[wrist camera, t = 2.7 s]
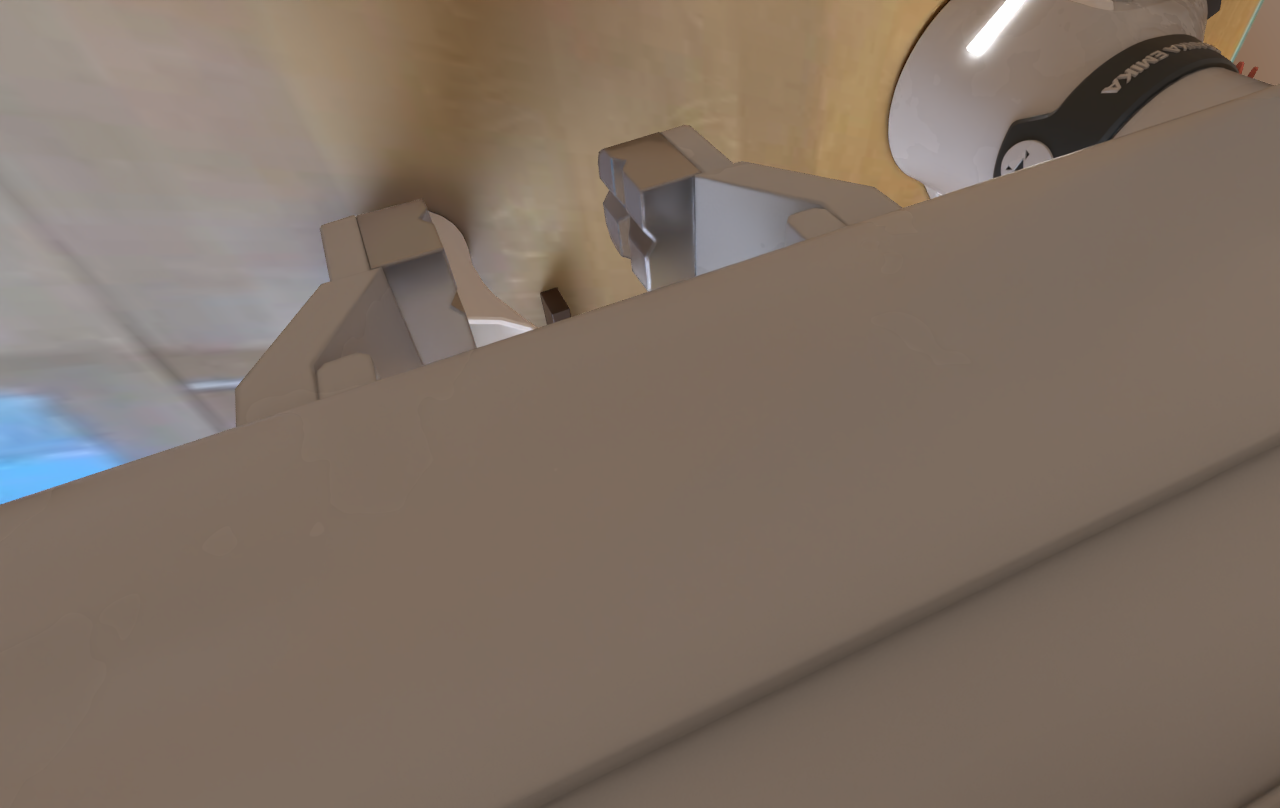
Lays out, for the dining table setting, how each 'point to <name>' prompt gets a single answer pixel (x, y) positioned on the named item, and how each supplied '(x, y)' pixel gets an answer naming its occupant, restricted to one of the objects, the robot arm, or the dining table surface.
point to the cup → (477, 291)
